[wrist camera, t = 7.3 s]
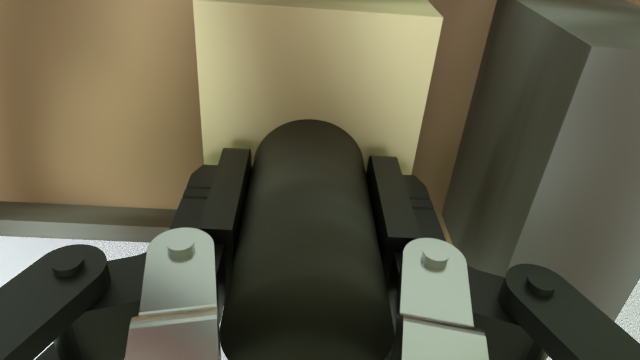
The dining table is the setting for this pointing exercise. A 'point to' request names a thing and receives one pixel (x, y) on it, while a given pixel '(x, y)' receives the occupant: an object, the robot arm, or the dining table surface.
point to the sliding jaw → (311, 161)
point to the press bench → (432, 149)
